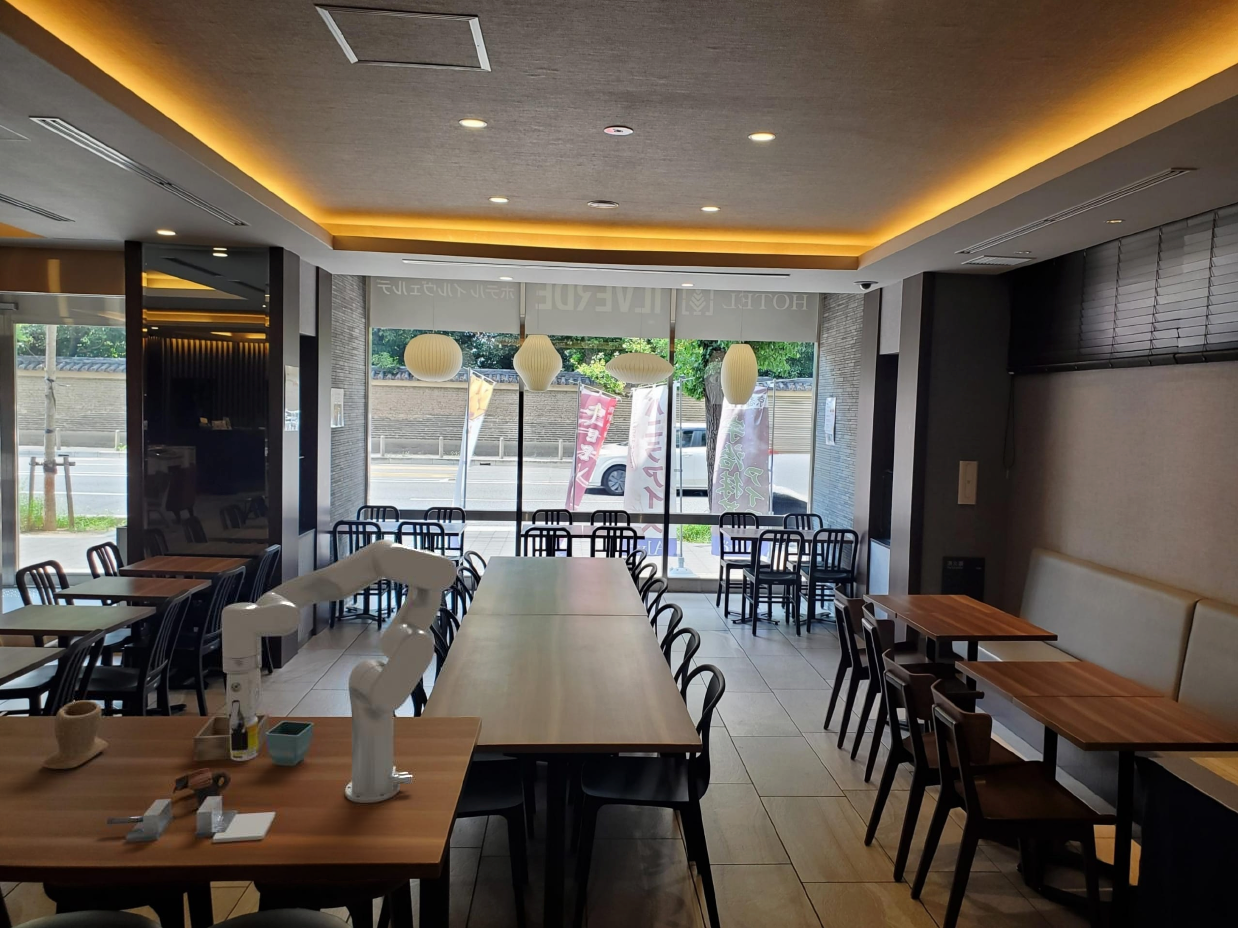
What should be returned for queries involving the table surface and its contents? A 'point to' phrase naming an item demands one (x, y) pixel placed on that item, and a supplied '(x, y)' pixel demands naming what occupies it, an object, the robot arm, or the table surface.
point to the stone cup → (76, 735)
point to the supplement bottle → (252, 740)
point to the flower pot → (289, 742)
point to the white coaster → (246, 827)
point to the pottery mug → (202, 785)
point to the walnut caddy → (222, 738)
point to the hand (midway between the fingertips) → (244, 742)
